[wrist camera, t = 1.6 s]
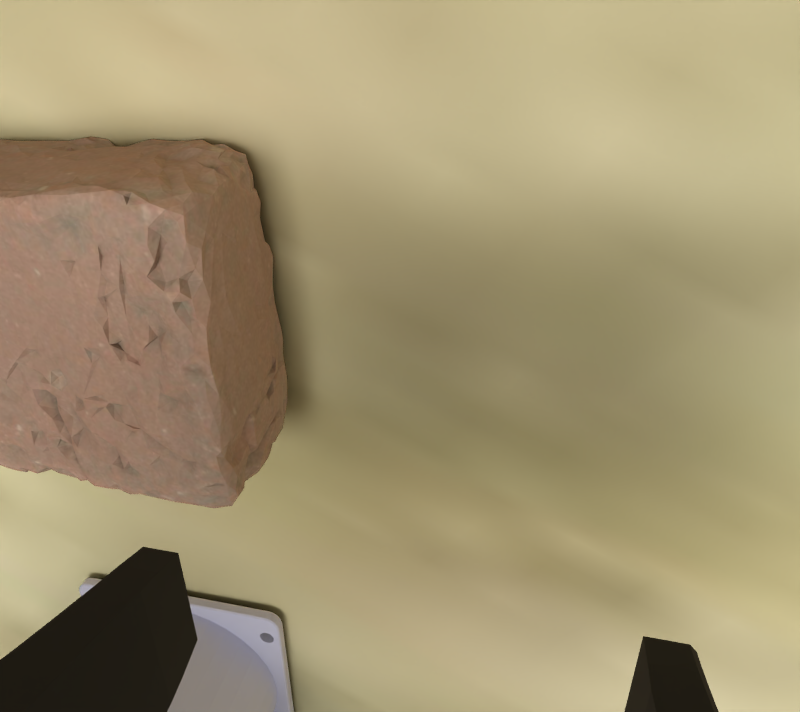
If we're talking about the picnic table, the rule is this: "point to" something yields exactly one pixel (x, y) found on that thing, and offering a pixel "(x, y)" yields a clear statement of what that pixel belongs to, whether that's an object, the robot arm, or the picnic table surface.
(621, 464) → the picnic table surface
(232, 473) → the brown faceted rock
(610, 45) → the picnic table surface
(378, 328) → the picnic table surface
